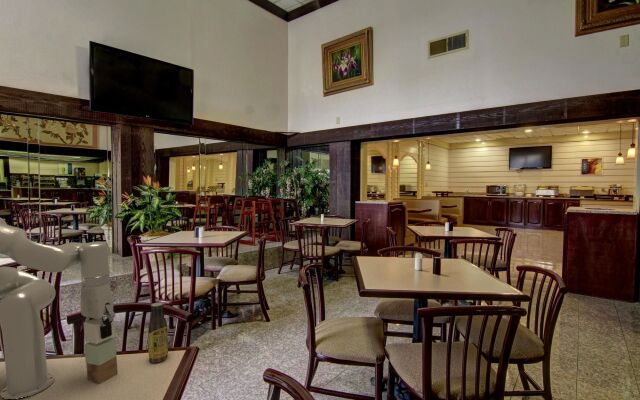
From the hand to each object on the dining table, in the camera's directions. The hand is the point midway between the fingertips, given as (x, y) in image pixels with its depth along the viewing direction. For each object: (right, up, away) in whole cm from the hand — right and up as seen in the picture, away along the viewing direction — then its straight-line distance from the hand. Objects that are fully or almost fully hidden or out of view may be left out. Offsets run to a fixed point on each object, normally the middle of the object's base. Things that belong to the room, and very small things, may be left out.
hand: (99, 334), depth 109 cm
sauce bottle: (+14, -13, +11) cm, 22 cm away
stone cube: (0, -1, 0) cm, 1 cm away
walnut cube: (+1, -14, +1) cm, 14 cm away
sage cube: (0, -8, 0) cm, 8 cm away
